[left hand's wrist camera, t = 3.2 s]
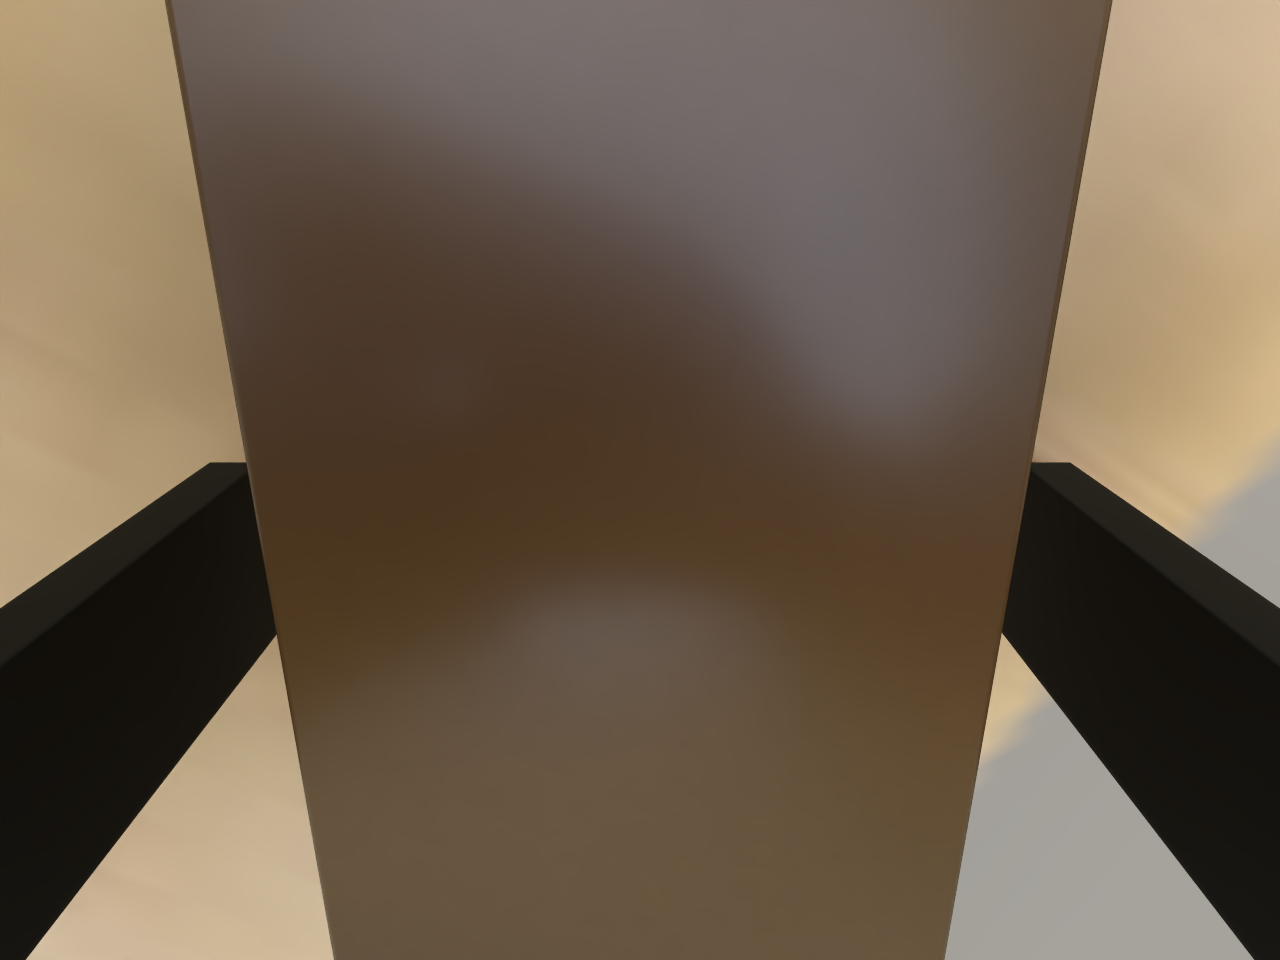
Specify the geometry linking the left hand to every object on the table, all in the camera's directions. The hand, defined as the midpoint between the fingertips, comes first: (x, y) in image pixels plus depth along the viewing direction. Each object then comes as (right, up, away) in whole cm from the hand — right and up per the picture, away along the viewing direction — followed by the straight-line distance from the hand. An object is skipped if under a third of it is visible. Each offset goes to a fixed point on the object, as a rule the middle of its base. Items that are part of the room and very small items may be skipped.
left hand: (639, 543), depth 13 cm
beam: (0, +21, -6) cm, 22 cm away
